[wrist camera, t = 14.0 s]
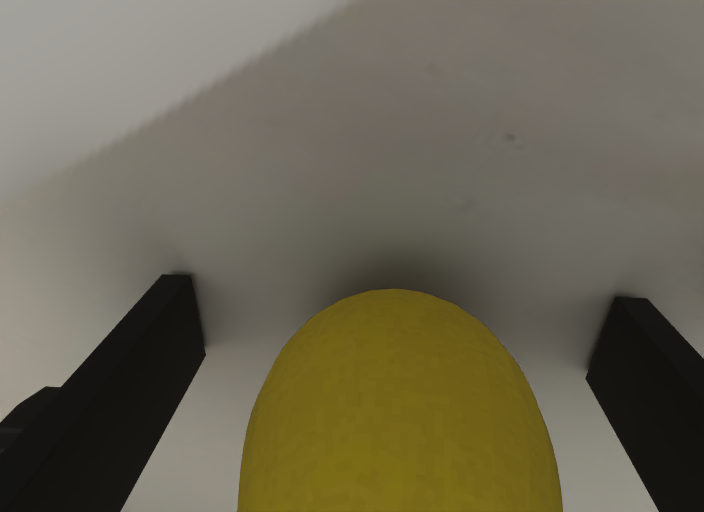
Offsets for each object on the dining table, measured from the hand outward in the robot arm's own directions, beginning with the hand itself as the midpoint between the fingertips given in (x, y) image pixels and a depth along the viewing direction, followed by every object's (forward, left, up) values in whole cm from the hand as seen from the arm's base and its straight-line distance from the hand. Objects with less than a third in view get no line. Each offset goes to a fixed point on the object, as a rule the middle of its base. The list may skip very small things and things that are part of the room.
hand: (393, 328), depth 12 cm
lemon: (0, 0, 0) cm, 0 cm away
